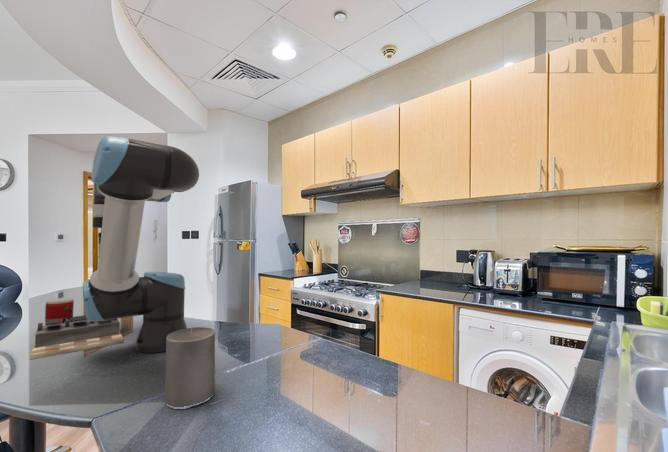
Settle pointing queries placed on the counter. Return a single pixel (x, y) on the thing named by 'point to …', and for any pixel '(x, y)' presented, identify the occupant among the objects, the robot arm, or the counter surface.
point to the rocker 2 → (104, 321)
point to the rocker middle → (79, 318)
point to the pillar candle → (190, 366)
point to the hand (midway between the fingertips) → (104, 279)
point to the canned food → (59, 309)
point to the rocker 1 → (54, 321)
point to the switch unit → (74, 337)
